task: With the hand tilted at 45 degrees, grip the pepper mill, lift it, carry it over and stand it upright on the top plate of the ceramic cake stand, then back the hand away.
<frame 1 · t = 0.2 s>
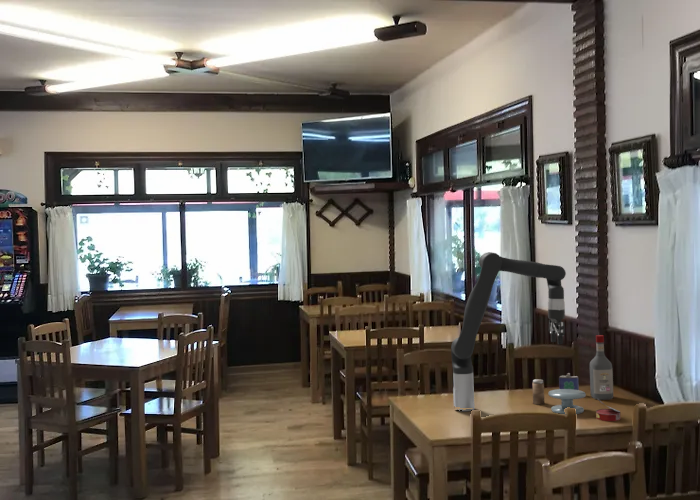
hand: (556, 343, 326), 29 cm above the table, tool pointing down, fingers open, 8 cm apart
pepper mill: (538, 403, 331), on the table
canned food: (608, 418, 300), on the table
liquor: (602, 398, 336), on the table
cake stand: (567, 410, 315), on the table
flask: (569, 395, 345), on the table
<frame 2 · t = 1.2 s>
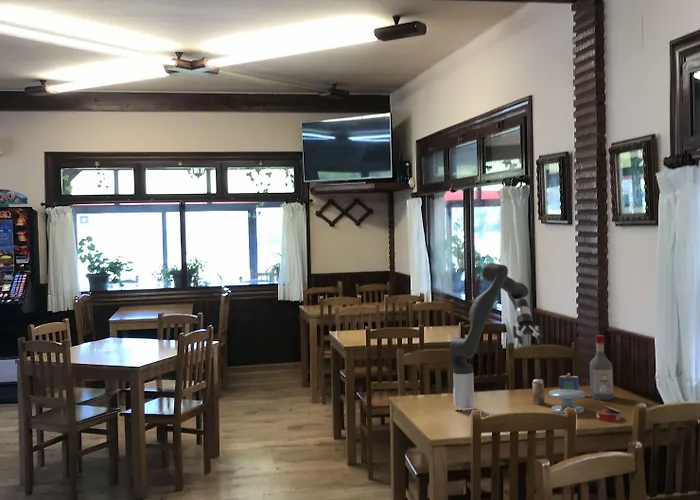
hand: (530, 343, 342), 27 cm above the table, tool tilted 45°, fingers open, 8 cm apart
nothing on the table moved.
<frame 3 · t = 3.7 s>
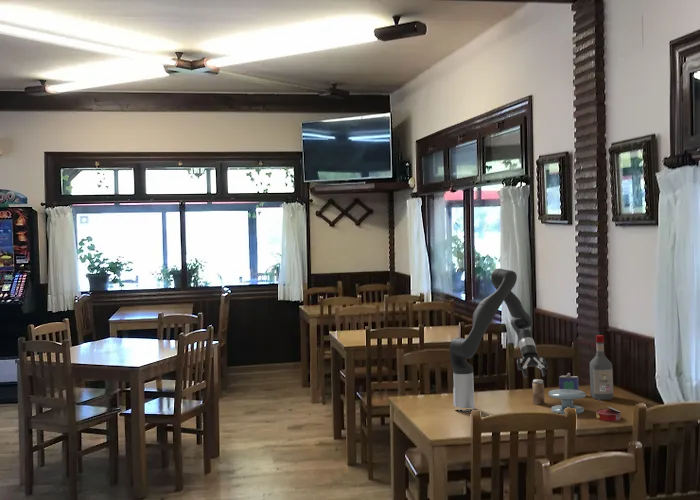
hand: (535, 376, 335), 12 cm above the table, tool tilted 45°, fingers open, 8 cm apart
nothing on the table moved.
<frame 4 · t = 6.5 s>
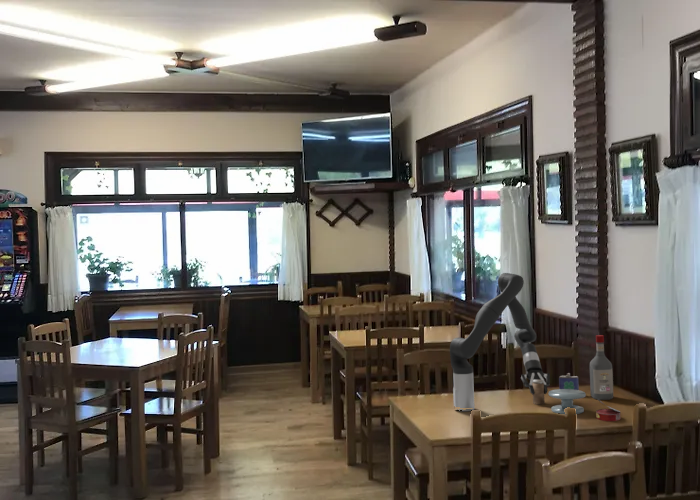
hand: (539, 393, 329), 5 cm above the table, tool tilted 45°, fingers closed on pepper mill, 5 cm apart
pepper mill: (538, 403, 330), on the table, touching gripper
everything else where it was.
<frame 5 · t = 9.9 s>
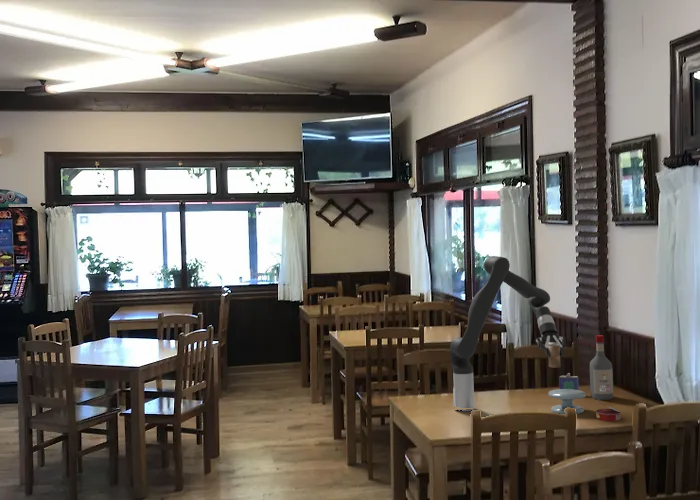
hand: (555, 356, 320), 24 cm above the table, tool tilted 45°, fingers closed on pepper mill, 5 cm apart
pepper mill: (554, 366, 322), point 19 cm above the table, touching gripper
everything else where it was.
when the fingers open (15 cm above the table, at t = 13.5 s): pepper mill drops 1 cm, resting on cake stand.
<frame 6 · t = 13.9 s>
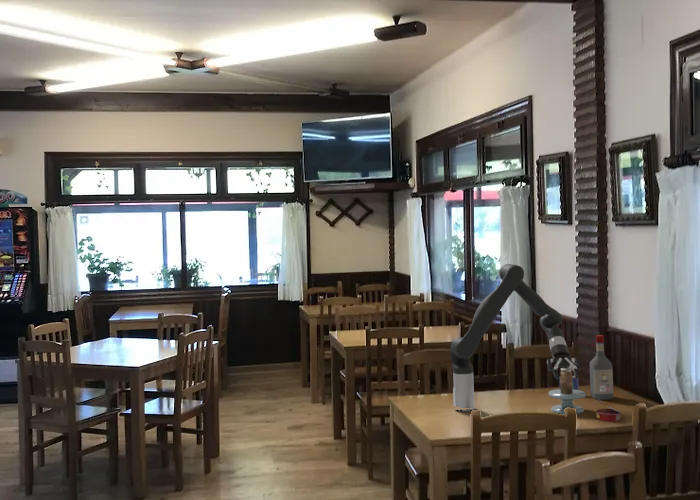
hand: (567, 377, 314), 15 cm above the table, tool tilted 45°, fingers open, 8 cm apart
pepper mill: (566, 392, 315), point 8 cm above the table, touching cake stand
everything else where it was.
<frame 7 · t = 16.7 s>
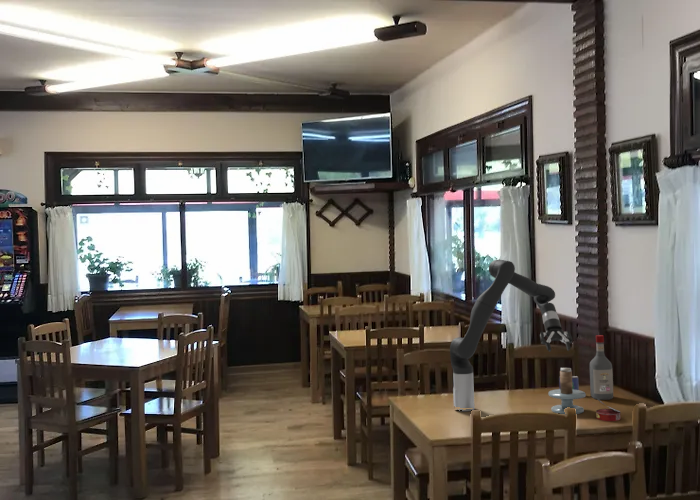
hand: (559, 350, 324), 26 cm above the table, tool tilted 45°, fingers open, 8 cm apart
nothing on the table moved.
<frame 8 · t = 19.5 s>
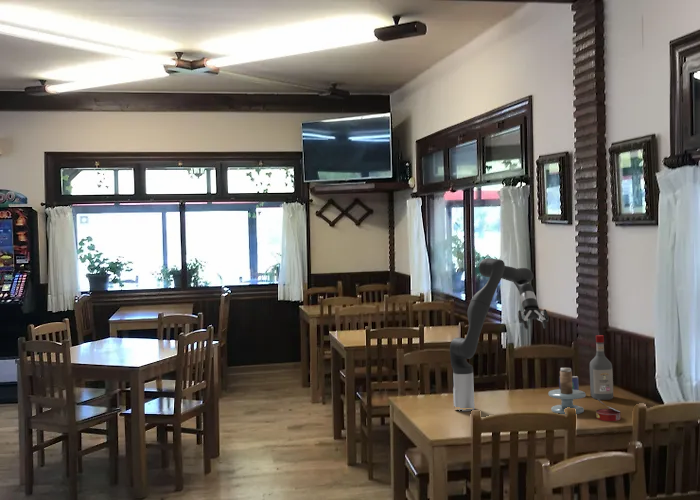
hand: (536, 328, 337), 35 cm above the table, tool tilted 45°, fingers open, 8 cm apart
nothing on the table moved.
at the end: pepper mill inside the target area on the cake stand (0.2 cm from its centre), point 8.0 cm above the cake stand's base; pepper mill tilted 0°; the gripper is holding nothing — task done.
